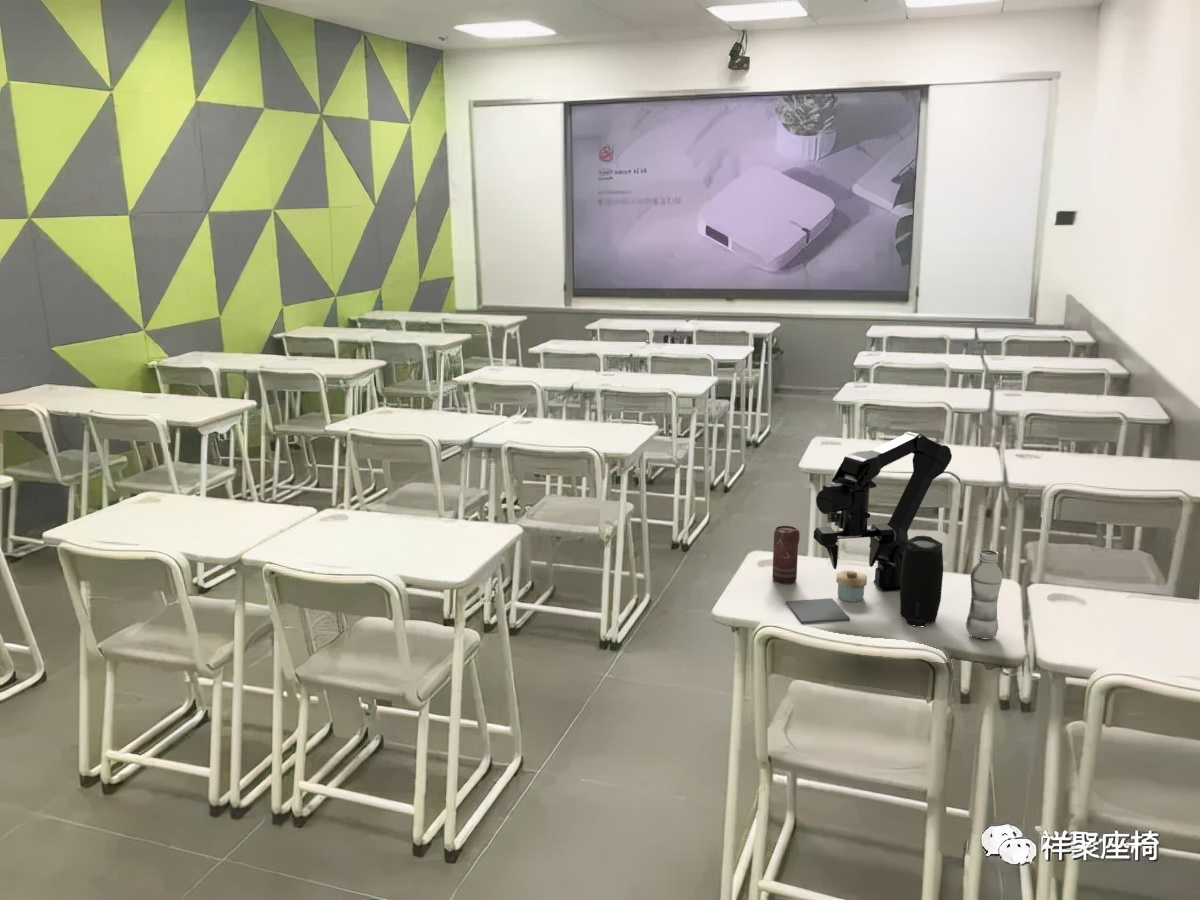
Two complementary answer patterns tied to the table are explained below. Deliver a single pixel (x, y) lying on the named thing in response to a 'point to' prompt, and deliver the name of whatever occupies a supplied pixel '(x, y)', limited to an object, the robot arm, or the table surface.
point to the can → (785, 554)
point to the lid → (851, 579)
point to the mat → (817, 611)
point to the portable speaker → (921, 580)
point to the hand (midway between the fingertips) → (852, 567)
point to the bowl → (850, 594)
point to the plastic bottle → (984, 596)
